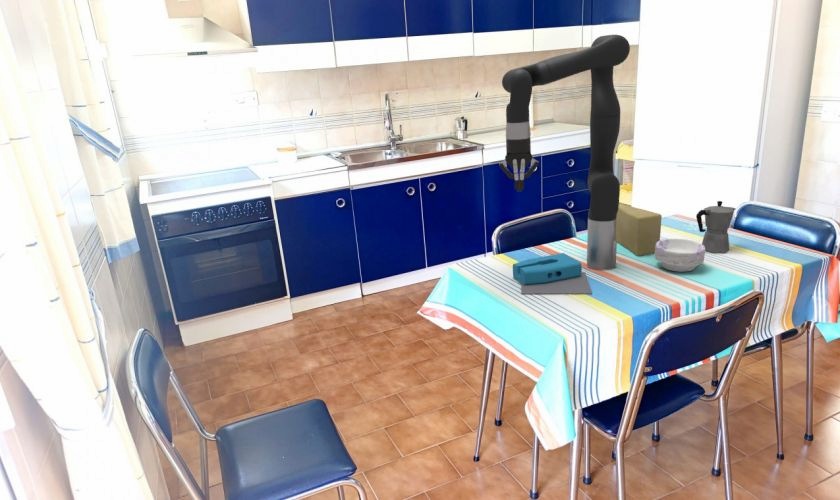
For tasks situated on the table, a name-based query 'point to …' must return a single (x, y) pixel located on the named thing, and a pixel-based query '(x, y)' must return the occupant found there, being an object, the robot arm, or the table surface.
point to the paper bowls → (679, 254)
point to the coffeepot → (716, 227)
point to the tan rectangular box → (638, 229)
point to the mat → (560, 286)
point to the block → (547, 269)
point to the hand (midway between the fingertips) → (519, 191)
